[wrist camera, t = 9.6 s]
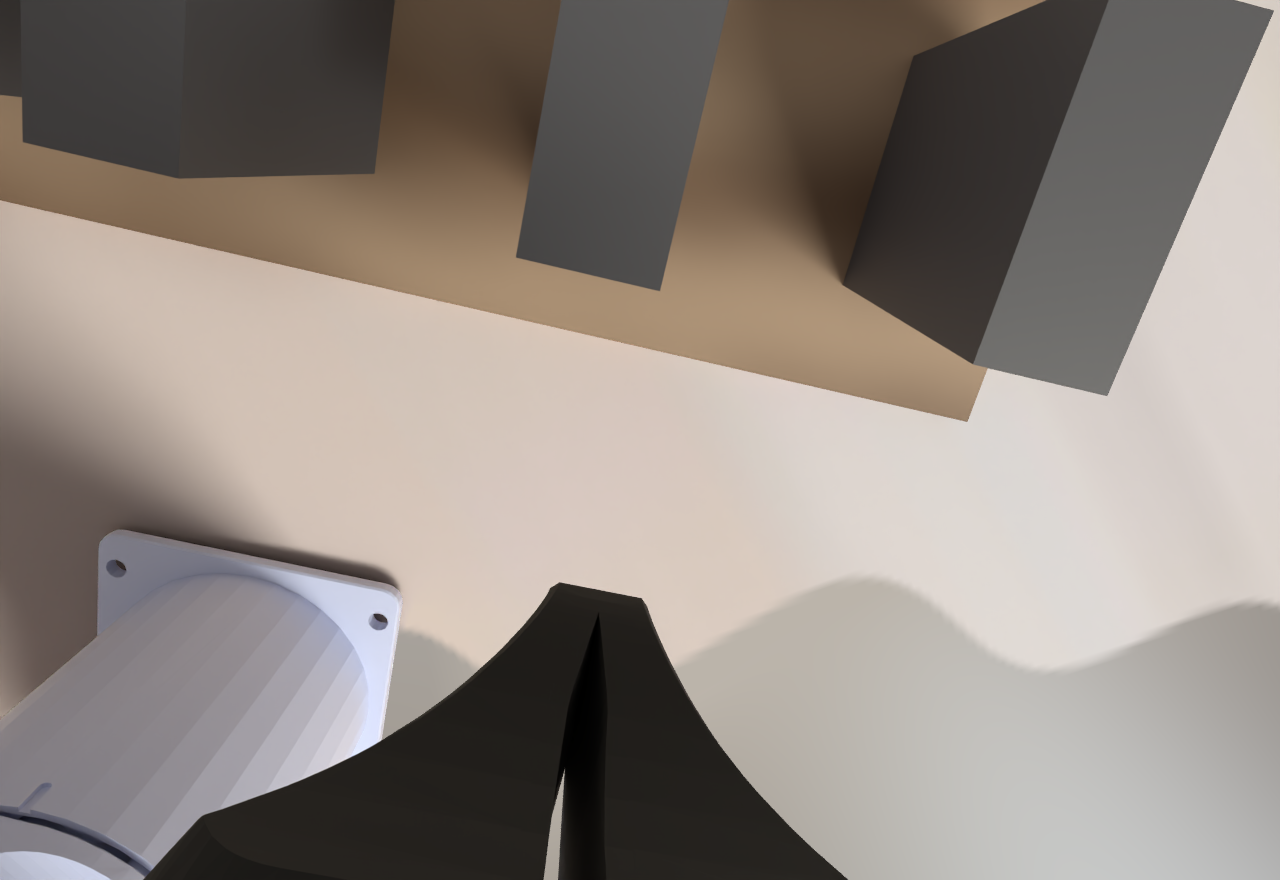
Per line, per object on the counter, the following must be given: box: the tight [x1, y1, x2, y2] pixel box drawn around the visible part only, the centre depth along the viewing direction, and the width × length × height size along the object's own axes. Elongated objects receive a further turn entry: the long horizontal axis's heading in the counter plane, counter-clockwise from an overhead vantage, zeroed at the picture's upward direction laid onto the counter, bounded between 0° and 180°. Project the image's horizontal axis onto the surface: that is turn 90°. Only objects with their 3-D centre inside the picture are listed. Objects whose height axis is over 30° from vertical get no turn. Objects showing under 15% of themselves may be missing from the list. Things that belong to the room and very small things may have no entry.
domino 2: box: [516, 0, 729, 291], centre depth 14 cm, size 2×5×8 cm, turn 167°
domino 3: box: [843, 0, 1274, 396], centre depth 14 cm, size 2×5×8 cm, turn 167°
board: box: [0, 0, 1046, 422], centre depth 17 cm, size 10×38×1 cm, turn 77°
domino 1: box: [20, 0, 395, 179], centre depth 14 cm, size 2×5×8 cm, turn 167°
